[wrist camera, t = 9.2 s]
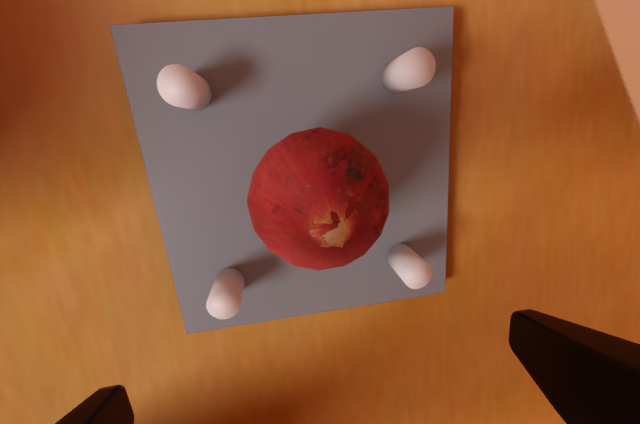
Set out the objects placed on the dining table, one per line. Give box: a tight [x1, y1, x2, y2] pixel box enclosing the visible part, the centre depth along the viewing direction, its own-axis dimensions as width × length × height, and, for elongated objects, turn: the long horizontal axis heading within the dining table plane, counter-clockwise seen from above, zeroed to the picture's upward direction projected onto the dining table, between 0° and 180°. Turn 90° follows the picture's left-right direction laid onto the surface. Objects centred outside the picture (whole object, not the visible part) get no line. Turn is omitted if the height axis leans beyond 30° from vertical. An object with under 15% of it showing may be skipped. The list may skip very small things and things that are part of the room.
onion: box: [247, 127, 389, 270], centre depth 13 cm, size 6×6×8 cm
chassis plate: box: [110, 6, 454, 334], centre depth 16 cm, size 16×16×4 cm
